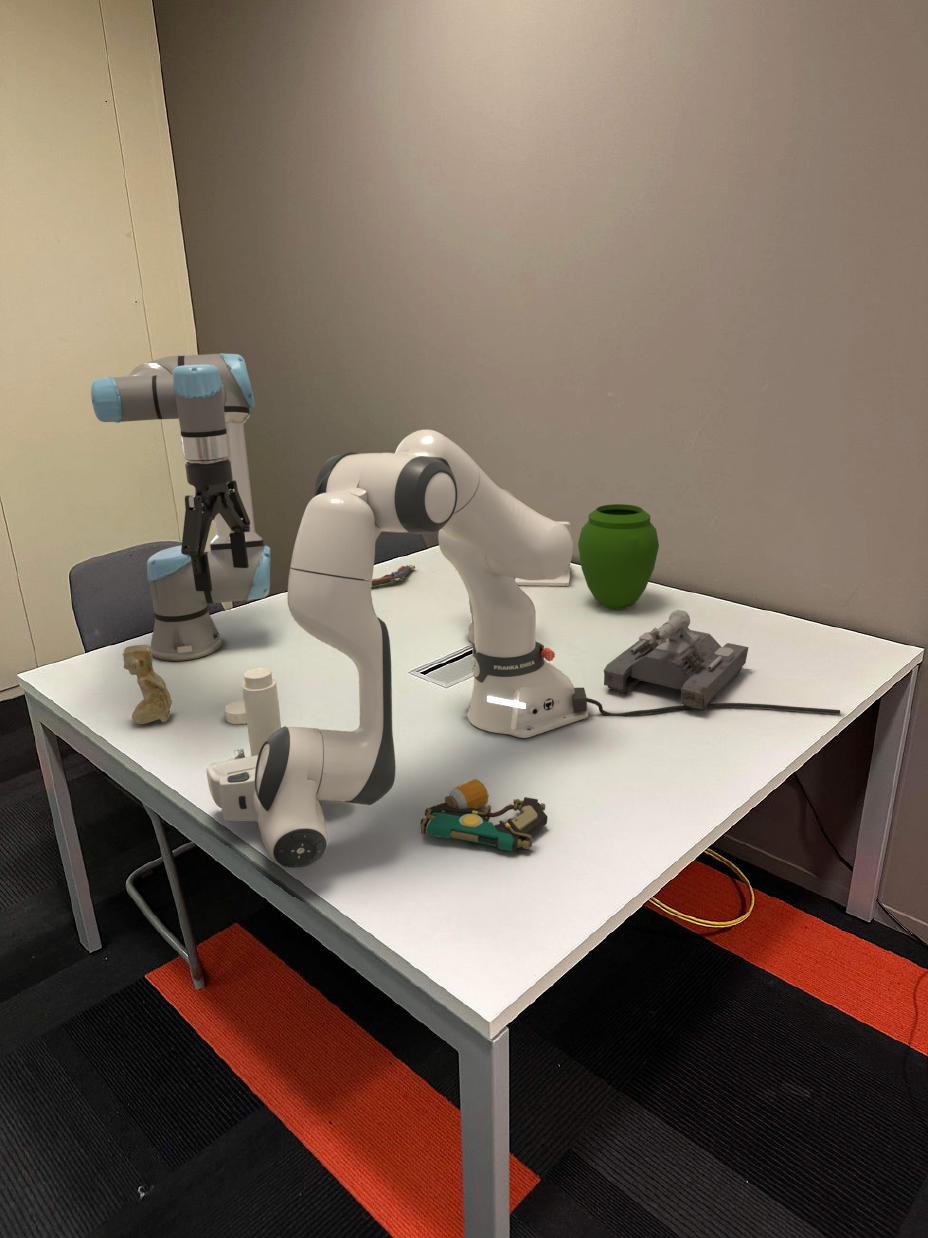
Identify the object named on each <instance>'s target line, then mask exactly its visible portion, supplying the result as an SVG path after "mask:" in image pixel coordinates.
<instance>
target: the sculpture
mask: <svg viewBox="0 0 928 1238" xmlns="http://www.w3.org/2000/svg"><path fill="white" fill-rule="evenodd" d="M151 649H152V647H151V645H150V644H149V645H148V644H135V645H129V646H126V647H125V648H124V649H123V652H122V656H123V658H122V659H123V669H124V670H127V671H128V673H129V674H130V675H131V676H136V677H137V680H136V682H137V684H138V686H139V689H140V691H141V694H142V697H143V699H142V700H141V701H139V702H138V704H136V706H135V707H134V710H133V712H132V713H131V720H132V721H133V723H135V724H137V725H138V724H139V725H144V724H145V725H146V724H149V723H151V722H154V721H158V720H160V722H161V723H165V722H167V721H168V719H169V718H170V715H171V708H172V705H173V700H172V696H171V693H170V691H169V689H168V687H167V684H166V682H165V680H164V679H163V678H162V676H160V675H159V674H158V673H157V672H156V671H155V670H154V666H153V654H152V650H151Z"/></svg>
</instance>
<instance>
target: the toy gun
mask: <svg viewBox="0 0 928 1238" xmlns="http://www.w3.org/2000/svg"><path fill="white" fill-rule="evenodd" d="M416 568H417V567H416V564H410V565H401V566H400V567H399V568H397V570H395V571H392V572H391V573H389V574H385V575H383V576H381V577H378V578H372V580H369V581H372V585H371V588H375V587H377V586H382V585H386V584H389V583H393V582H398V581H402V580H403V579H404V578H406V577H407V575H408V574H409V573H410V572H411V571H413V570H415V569H416Z"/></svg>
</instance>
